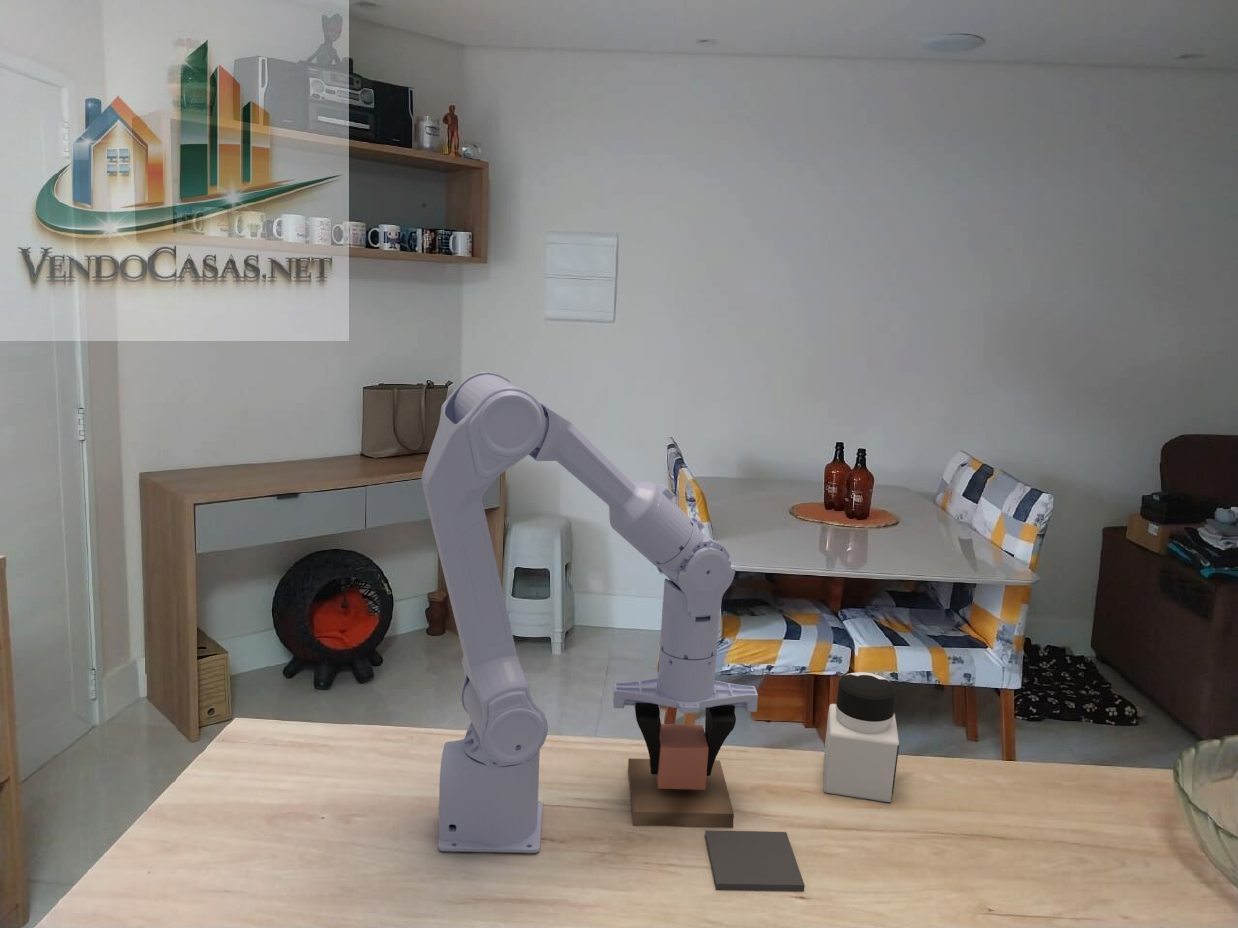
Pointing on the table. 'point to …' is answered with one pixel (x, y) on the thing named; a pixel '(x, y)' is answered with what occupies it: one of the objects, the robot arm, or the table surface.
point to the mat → (753, 861)
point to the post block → (678, 800)
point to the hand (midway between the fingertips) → (679, 769)
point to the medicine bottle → (862, 739)
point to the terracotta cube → (682, 757)
